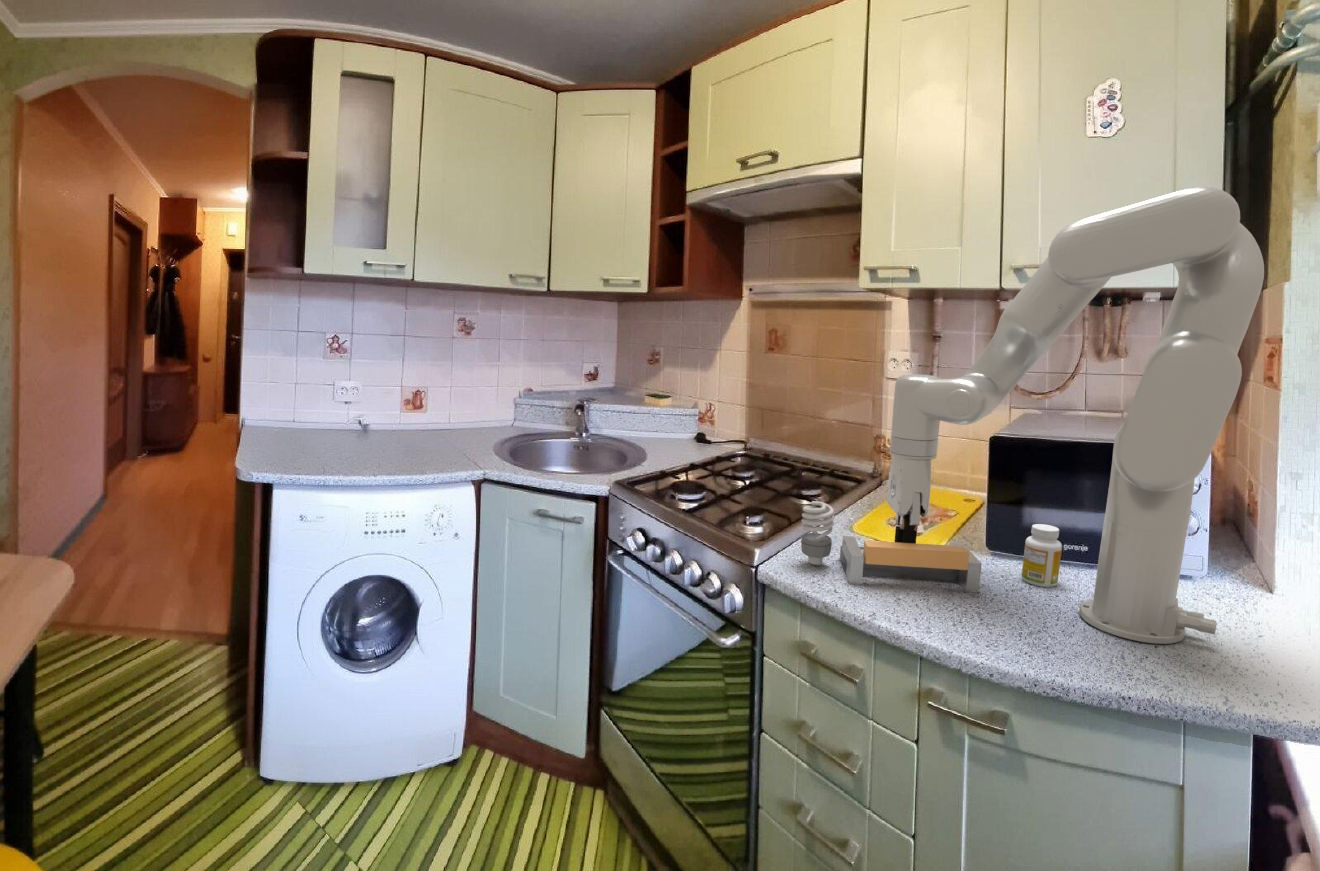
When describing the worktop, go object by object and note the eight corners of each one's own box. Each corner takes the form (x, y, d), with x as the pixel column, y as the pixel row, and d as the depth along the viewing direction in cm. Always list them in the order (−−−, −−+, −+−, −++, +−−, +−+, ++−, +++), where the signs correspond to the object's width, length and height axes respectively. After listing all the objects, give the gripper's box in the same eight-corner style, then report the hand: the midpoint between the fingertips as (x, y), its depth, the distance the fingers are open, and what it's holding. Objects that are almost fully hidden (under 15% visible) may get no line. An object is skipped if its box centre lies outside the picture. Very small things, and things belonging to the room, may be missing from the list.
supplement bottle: (1047, 576, 113) (1054, 523, 111) (1063, 588, 107) (1070, 533, 106) (1015, 574, 113) (1021, 521, 112) (1029, 587, 108) (1036, 531, 106)
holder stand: (955, 565, 117) (958, 539, 116) (978, 592, 105) (981, 563, 105) (839, 558, 120) (841, 532, 119) (849, 583, 108) (851, 555, 107)
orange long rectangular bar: (961, 563, 107) (963, 546, 107) (967, 570, 104) (969, 552, 104) (862, 557, 109) (864, 540, 109) (865, 563, 107) (867, 546, 106)
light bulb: (795, 560, 119) (798, 497, 117) (824, 559, 119) (828, 497, 117) (805, 572, 113) (808, 506, 111) (835, 571, 114) (839, 505, 112)
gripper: (881, 438, 117) (873, 534, 121) (901, 455, 103) (892, 564, 106) (923, 440, 117) (915, 536, 120) (950, 457, 102) (939, 566, 105)
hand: (904, 549), depth 113 cm, fingers closed
